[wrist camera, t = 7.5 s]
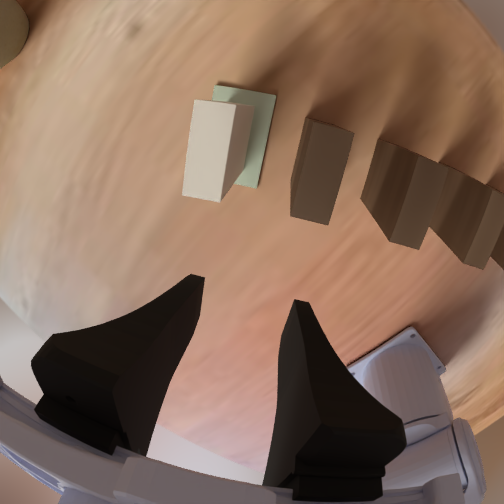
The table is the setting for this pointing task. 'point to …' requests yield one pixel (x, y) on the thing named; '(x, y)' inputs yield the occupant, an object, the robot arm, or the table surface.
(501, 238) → the domino
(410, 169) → the domino
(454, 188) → the domino
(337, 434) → the robot arm
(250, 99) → the pad
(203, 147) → the domino
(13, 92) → the table surface
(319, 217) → the domino
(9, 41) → the flower pot
